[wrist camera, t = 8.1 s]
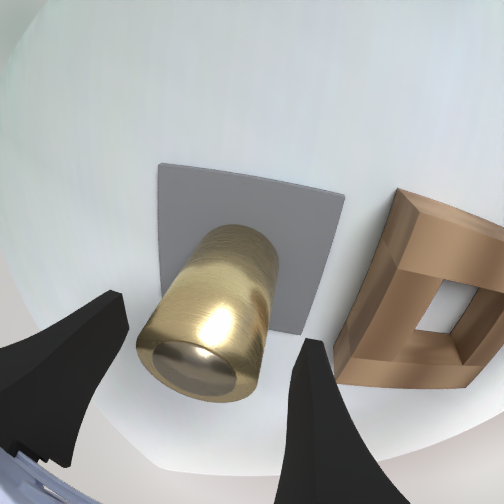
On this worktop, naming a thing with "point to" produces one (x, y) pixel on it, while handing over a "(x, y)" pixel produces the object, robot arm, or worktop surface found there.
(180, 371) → the end cover
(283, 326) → the mat
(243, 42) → the worktop surface
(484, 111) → the worktop surface
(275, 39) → the worktop surface
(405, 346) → the housing
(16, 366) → the robot arm
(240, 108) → the worktop surface
